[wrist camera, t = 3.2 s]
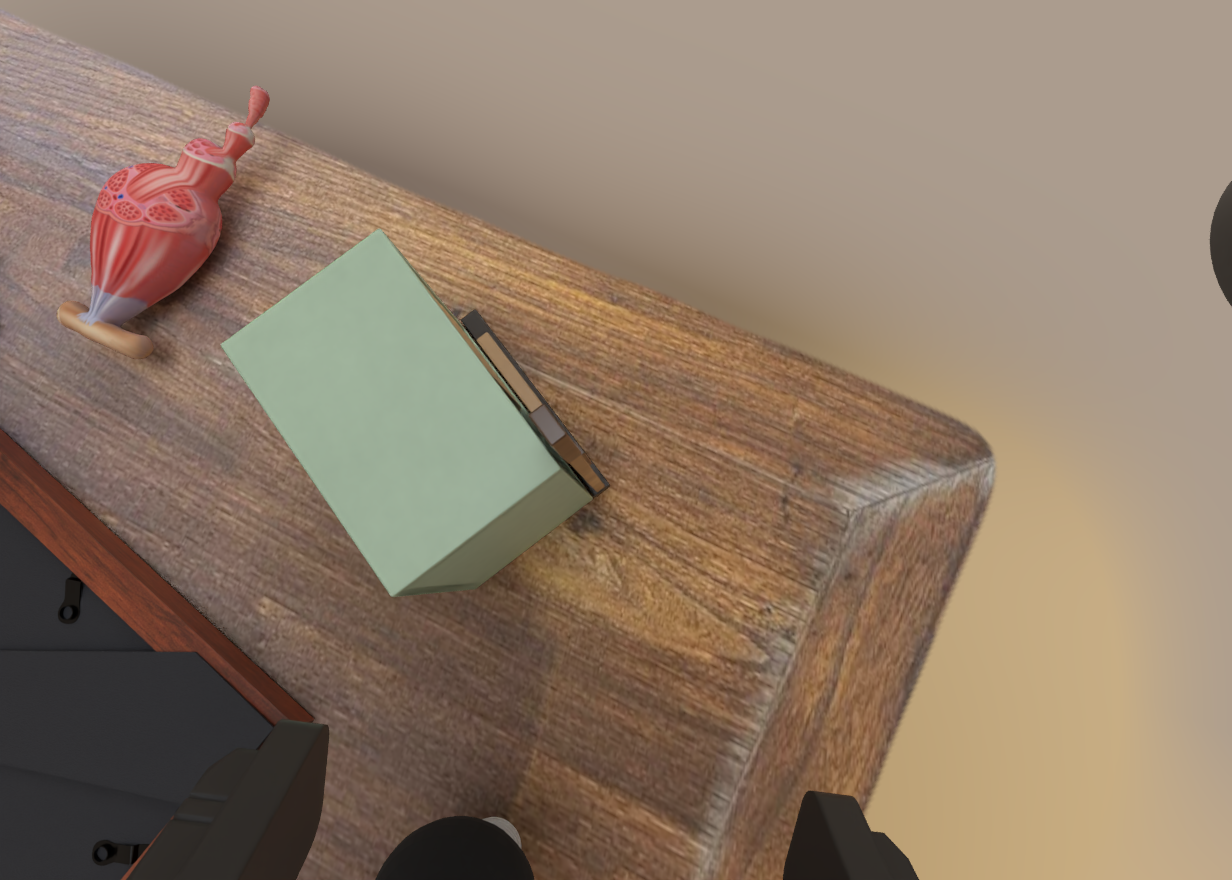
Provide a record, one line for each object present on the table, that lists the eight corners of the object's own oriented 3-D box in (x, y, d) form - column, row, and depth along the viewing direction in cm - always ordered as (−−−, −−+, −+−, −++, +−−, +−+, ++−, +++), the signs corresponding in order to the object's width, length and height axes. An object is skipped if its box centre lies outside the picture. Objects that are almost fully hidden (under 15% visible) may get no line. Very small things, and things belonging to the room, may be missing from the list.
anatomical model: (181, 27, 36) (276, 85, 35) (247, 89, 41) (332, 141, 40) (-3, 294, 36) (87, 361, 34) (86, 324, 40) (167, 384, 39)
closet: (477, 312, 38) (401, 210, 28) (610, 485, 36) (585, 449, 26) (347, 409, 38) (218, 344, 27) (474, 589, 36) (391, 598, 25)
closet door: (538, 393, 36) (461, 290, 23) (608, 484, 36) (570, 432, 22) (526, 402, 36) (443, 304, 23) (596, 493, 36) (551, 446, 22)
